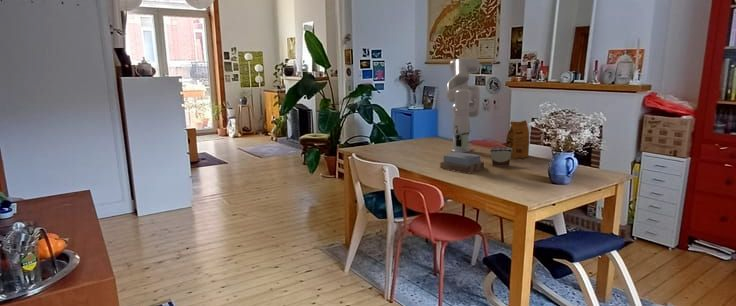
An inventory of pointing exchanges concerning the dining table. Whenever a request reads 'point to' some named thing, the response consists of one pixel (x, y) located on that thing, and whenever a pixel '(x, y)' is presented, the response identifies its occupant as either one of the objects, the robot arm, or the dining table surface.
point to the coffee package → (518, 139)
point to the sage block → (463, 141)
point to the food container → (501, 156)
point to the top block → (462, 159)
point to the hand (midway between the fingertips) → (461, 145)
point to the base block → (462, 167)
